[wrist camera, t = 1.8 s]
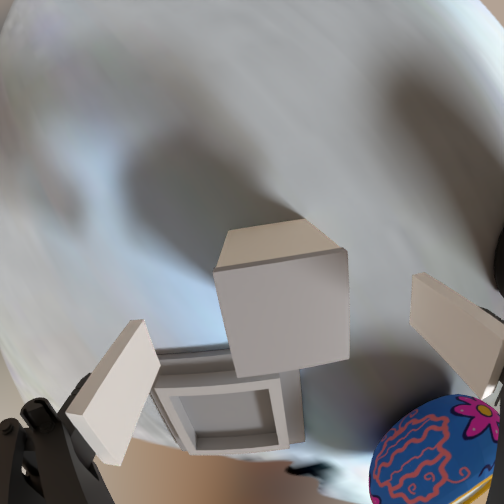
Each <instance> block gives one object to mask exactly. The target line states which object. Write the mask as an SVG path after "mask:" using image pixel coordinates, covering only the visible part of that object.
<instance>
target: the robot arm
mask: <svg viewBox="0 0 504 504" xmlns="http://www.w3.org/2000/svg"><path fill="white" fill-rule="evenodd" d="M409 324H410V325H411V326H412V327H413V328H414V329H415V330H416V331H417V332H418V333H419V334H420V335H421V336H422V337H423V338H424V339H425V340H426V341H427V342H428V343H429V344H430V345H431V346H432V347H433V348H434V349H435V350H436V351H437V352H438V354H439V355H440V356H441V357H442V358H443V359H444V360H445V361H446V362H447V363H448V364H449V365H450V366H451V367H452V368H453V370H454V371H455V372H456V373H457V374H458V375H459V376H460V377H461V378H462V379H463V380H464V382H465V383H466V384H467V385H468V386H469V387H470V388H471V389H472V391H473V392H474V393H475V394H476V395H477V396H478V397H479V398H480V400H482V399H484V398H485V397H487V396H489V395H490V394H492V393H494V391H495V388H496V386H497V384H498V381H500V382H501V383H502V384H503V386H502V388H501V391H500V393H499V395H498V397H497V399H496V402H495V405H494V406H497V404H498V402H499V401H500V422H499V434H498V444H497V451H496V458H495V465H494V470H493V475H492V480H491V485H490V490H489V494H488V498H487V501H486V504H504V320H501V318H499V317H498V316H495V314H494V313H492V312H491V311H489V310H487V309H485V308H482V307H479V306H477V305H475V304H474V303H472V302H471V301H469V300H468V299H466V298H465V297H463V296H461V295H460V294H458V293H457V292H455V291H454V290H452V289H451V288H449V287H447V286H446V285H444V284H443V283H441V282H439V281H438V280H436V279H435V278H433V277H431V276H430V275H428V274H426V273H425V272H423V273H419V274H415V275H412V294H411V309H410V320H409ZM160 366H161V365H160V362H159V360H158V357H157V354H156V352H155V349H154V346H153V344H152V341H151V338H150V335H149V332H148V330H147V327H146V324H145V321H144V319H141V320H130V322H129V323H128V324H127V326H126V327H125V328H124V330H123V331H122V332H121V334H120V335H119V336H118V338H117V339H116V340H115V342H114V343H113V344H112V346H111V347H110V348H109V350H108V351H107V353H106V354H105V355H104V357H103V358H102V359H101V361H100V362H99V364H98V365H97V366H96V368H95V369H94V371H93V372H92V373H89V374H87V375H86V376H85V377H84V378H82V379H81V380H80V382H79V383H78V384H77V386H76V387H75V388H76V389H74V390H73V391H72V393H71V395H70V396H69V397H68V399H67V400H66V401H65V403H64V404H63V406H62V407H61V409H60V410H59V412H58V413H56V412H55V410H54V409H53V407H52V406H51V404H50V403H49V401H48V400H47V399H45V398H40V397H39V398H35V399H32V400H30V401H28V402H27V403H26V404H25V405H24V406H23V408H22V409H21V412H20V415H21V417H22V418H23V419H24V421H25V422H26V423H27V425H28V426H29V428H23V427H22V426H21V424H20V423H19V421H18V420H17V419H15V418H8V419H5V420H4V421H2V422H1V423H0V504H115V503H114V501H113V499H112V497H111V495H110V493H109V491H108V489H107V487H106V485H105V483H104V481H103V479H102V476H101V474H100V472H99V470H98V467H97V466H96V464H95V463H94V462H93V459H94V456H95V454H96V455H97V456H98V457H99V459H100V460H101V461H102V462H103V463H105V464H110V465H116V466H121V463H122V461H123V458H124V455H125V453H126V450H127V447H128V445H129V442H130V440H131V437H132V434H133V432H134V429H135V427H136V424H137V422H138V419H139V417H140V414H141V412H142V409H143V407H144V404H145V402H146V399H147V397H148V395H149V392H150V390H151V387H152V385H153V382H154V380H155V378H156V375H157V373H158V371H159V368H160ZM22 466H23V467H24V469H25V470H26V475H24V474H23V473H22V470H21V468H22Z"/></svg>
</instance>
